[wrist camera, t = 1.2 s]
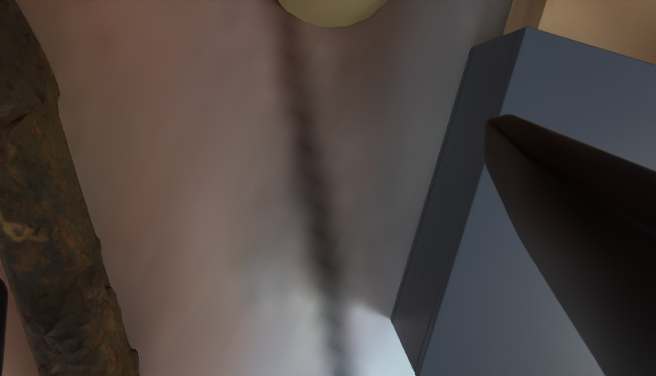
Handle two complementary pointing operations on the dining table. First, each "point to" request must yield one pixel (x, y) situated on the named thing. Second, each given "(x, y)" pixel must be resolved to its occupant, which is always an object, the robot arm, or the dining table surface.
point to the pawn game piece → (332, 11)
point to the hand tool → (50, 223)
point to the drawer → (593, 23)
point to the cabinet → (492, 219)
